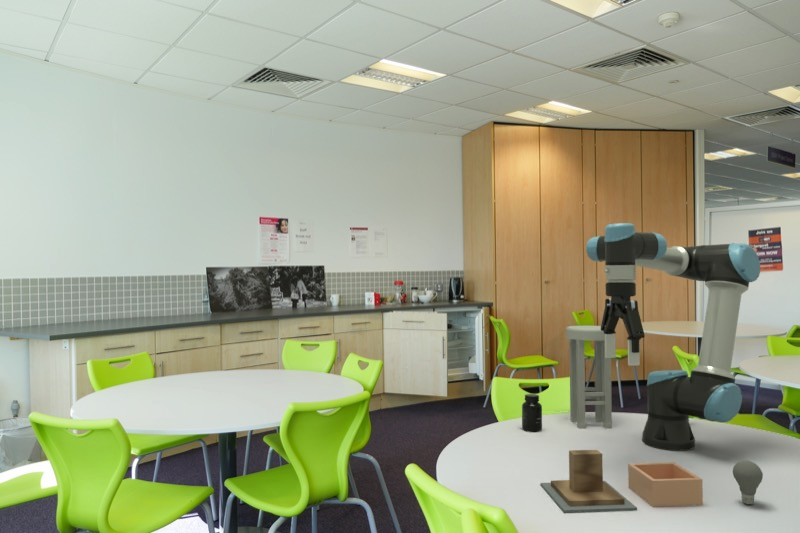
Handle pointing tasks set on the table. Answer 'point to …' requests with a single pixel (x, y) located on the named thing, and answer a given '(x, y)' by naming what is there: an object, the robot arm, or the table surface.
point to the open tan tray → (665, 484)
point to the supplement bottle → (532, 413)
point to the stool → (578, 376)
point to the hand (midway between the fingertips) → (621, 361)
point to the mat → (595, 508)
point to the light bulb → (747, 479)
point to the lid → (586, 481)
